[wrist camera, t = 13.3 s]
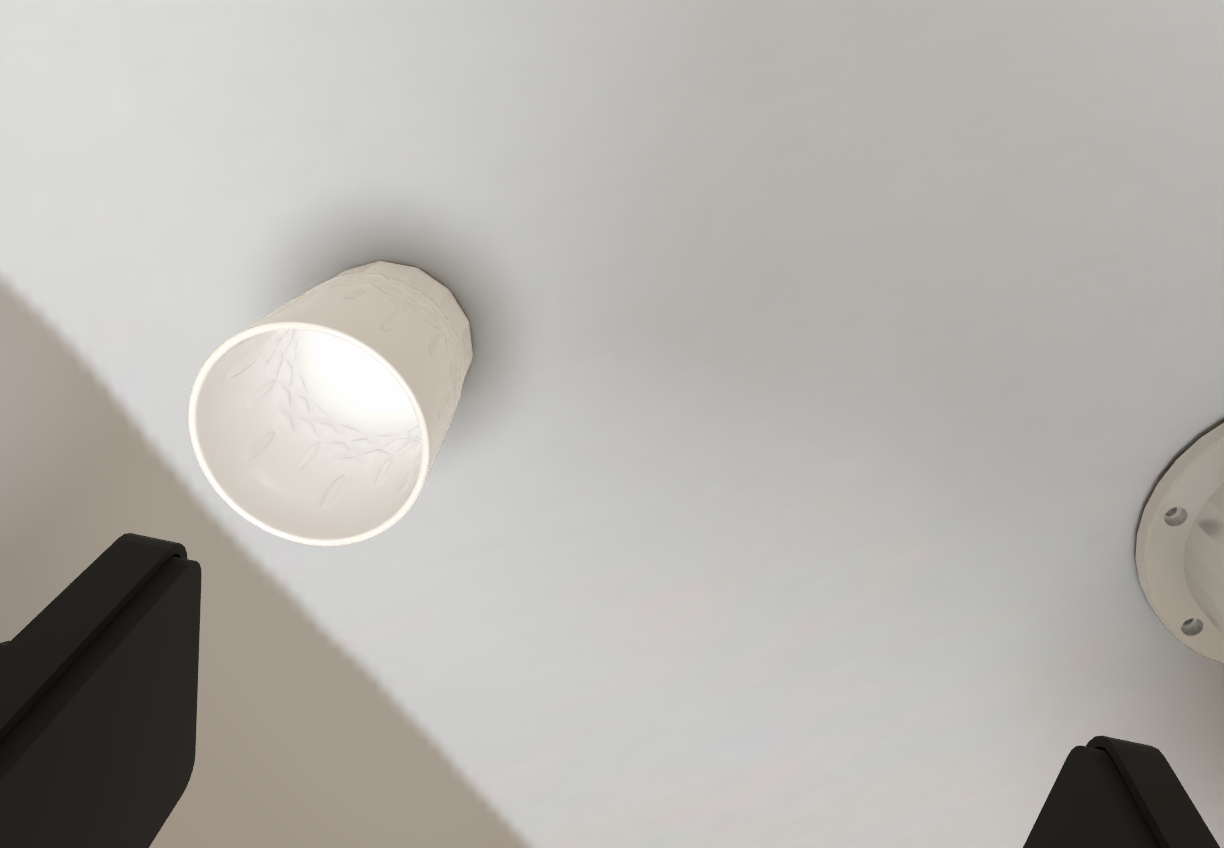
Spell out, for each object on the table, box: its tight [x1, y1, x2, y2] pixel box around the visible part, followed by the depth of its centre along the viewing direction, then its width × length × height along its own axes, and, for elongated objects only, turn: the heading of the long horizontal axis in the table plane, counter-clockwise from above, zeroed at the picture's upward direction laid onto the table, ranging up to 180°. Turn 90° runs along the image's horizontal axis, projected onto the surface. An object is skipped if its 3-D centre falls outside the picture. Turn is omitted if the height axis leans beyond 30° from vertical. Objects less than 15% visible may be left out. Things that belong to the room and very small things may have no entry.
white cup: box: [188, 261, 473, 546], centre depth 37 cm, size 8×8×10 cm
